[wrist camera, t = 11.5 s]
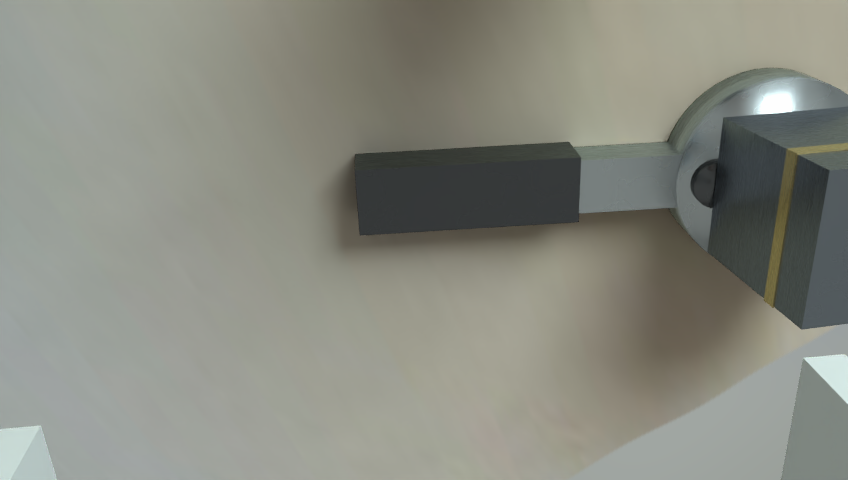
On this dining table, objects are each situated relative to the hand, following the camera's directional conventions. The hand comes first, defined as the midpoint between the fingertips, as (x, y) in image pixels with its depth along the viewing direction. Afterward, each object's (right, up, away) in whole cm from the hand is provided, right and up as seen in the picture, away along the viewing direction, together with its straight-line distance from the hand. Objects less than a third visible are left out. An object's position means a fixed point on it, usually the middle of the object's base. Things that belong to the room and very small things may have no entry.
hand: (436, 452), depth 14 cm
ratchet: (+9, +7, +28) cm, 30 cm away
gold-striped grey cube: (+17, +7, +26) cm, 32 cm away
